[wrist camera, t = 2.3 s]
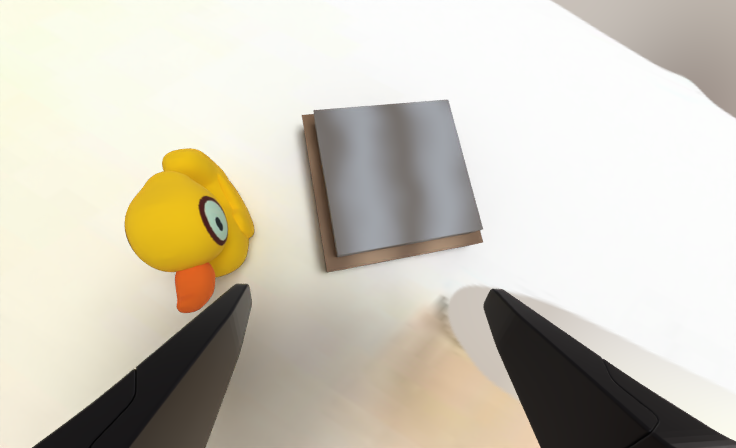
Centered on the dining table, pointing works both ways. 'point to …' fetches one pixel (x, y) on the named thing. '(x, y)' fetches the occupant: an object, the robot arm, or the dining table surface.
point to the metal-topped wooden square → (389, 182)
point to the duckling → (190, 225)
